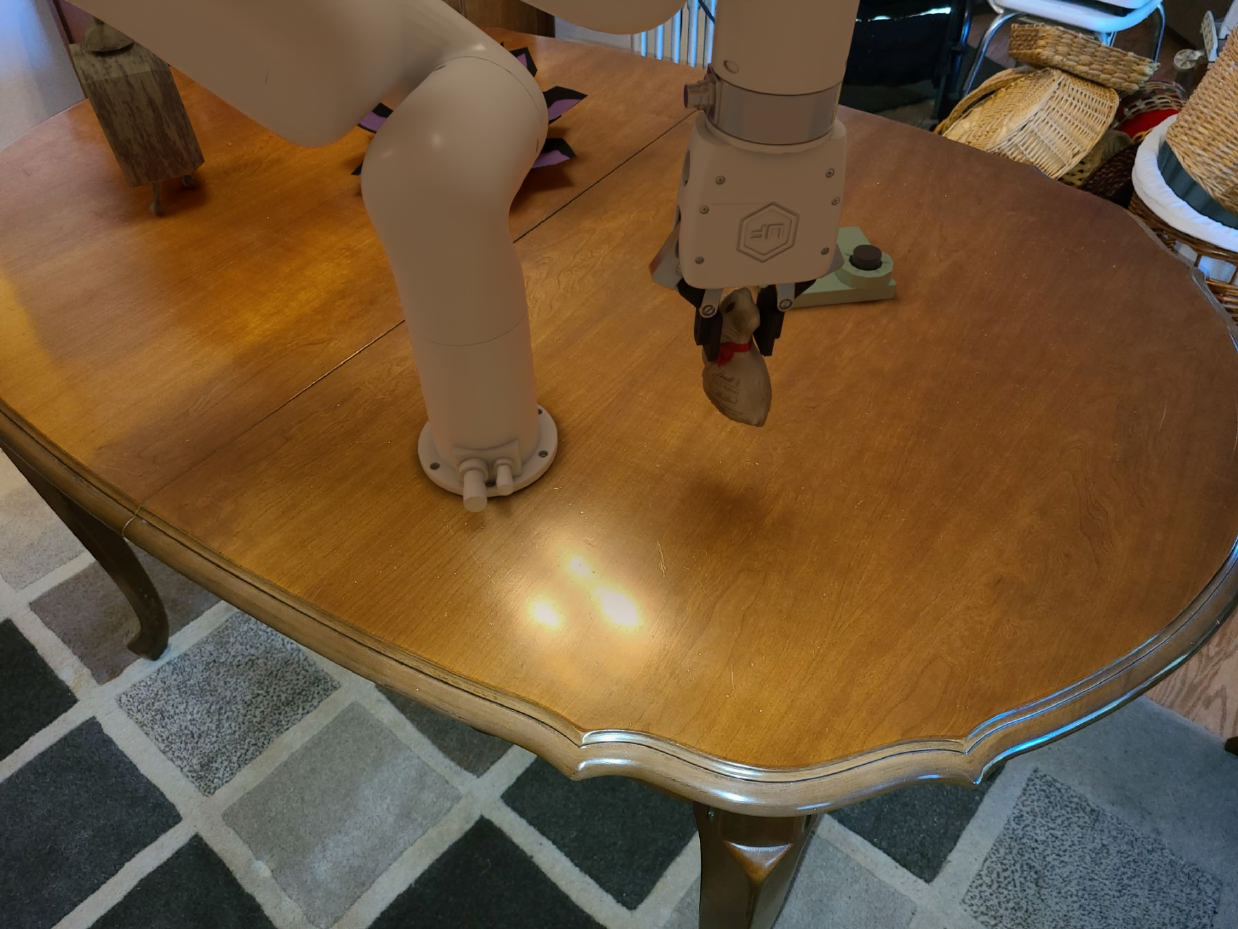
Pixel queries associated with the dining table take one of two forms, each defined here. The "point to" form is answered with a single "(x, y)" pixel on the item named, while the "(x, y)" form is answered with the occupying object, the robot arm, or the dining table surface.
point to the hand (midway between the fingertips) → (735, 345)
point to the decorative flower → (556, 105)
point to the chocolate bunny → (738, 364)
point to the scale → (850, 277)
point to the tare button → (866, 257)
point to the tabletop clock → (137, 109)
